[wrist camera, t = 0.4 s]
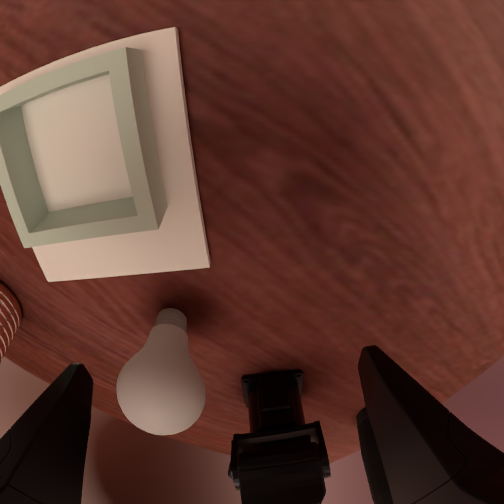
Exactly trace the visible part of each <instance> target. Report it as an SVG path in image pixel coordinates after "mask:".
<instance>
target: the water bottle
mask: <svg viewBox="0 0 504 504" xmlns="http://www.w3.org/2000/svg"><path fill="white" fill-rule="evenodd" d="M21 320H22V311H21V308H20V305H19V303H18V301H17V299H16V298H15V296H14V295H13V294H12V292H11V291H10V290H9V289H8V288H7V287H6V286H5V285H3V284H2V283H1V282H0V363H1V361H2V359H3V357H4V355H5V353H6V351H7V349H8V347H9V345H10V343H11V341H12V339H13V338H14V336H15V334H16V332H17V330H18V328H19V326H20V323H21Z"/></svg>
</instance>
